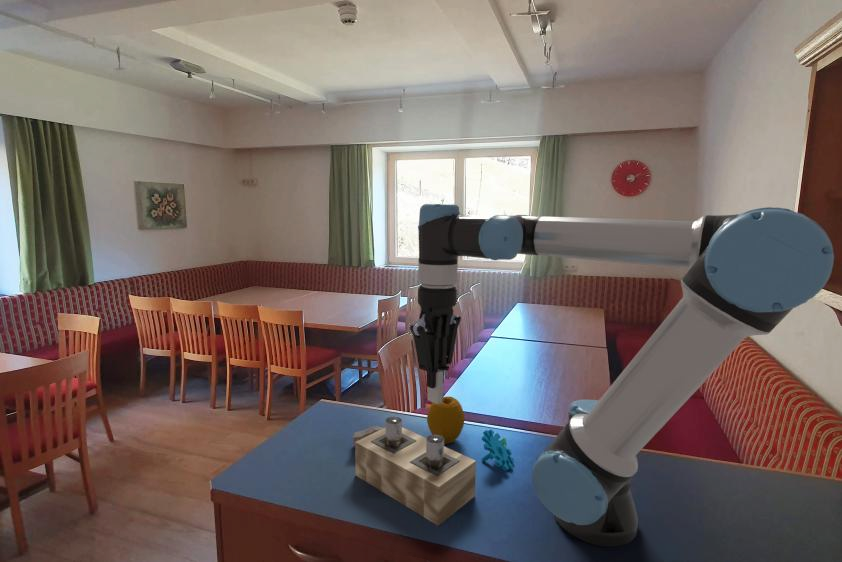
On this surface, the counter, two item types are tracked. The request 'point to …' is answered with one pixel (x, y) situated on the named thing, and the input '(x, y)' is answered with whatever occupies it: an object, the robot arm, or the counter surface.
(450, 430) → the apple
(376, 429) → the stone
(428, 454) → the steel peg near
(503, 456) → the teal knobby branched piece
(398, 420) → the steel peg far
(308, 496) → the counter surface
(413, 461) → the socket block
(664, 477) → the counter surface
